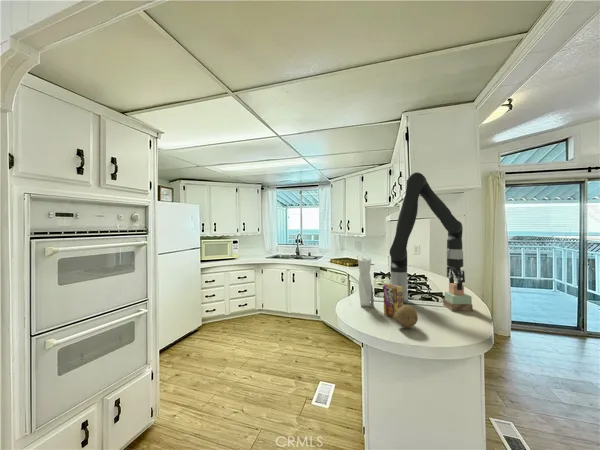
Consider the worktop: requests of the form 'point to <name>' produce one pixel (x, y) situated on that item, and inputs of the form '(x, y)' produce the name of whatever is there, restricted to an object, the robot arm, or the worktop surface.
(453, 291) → the terracotta block
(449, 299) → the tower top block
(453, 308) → the tower base block
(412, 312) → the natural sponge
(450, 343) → the worktop surface
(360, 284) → the skyscraper
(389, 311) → the candy box
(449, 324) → the worktop surface
